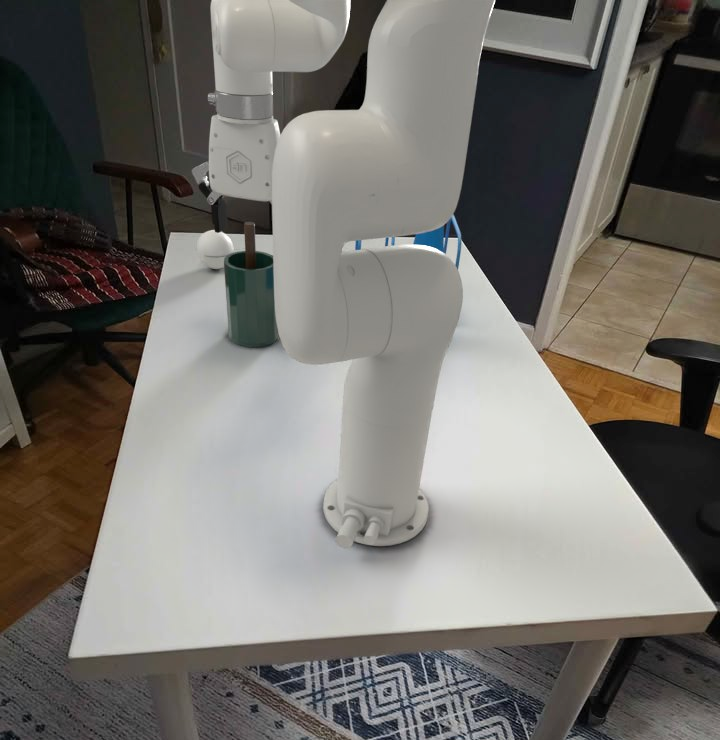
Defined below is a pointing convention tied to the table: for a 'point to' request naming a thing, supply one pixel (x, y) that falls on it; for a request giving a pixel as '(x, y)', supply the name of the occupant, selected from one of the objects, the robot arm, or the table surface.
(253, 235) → the brush
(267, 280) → the cup
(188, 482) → the table surface
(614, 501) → the table surface
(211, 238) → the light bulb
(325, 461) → the table surface
